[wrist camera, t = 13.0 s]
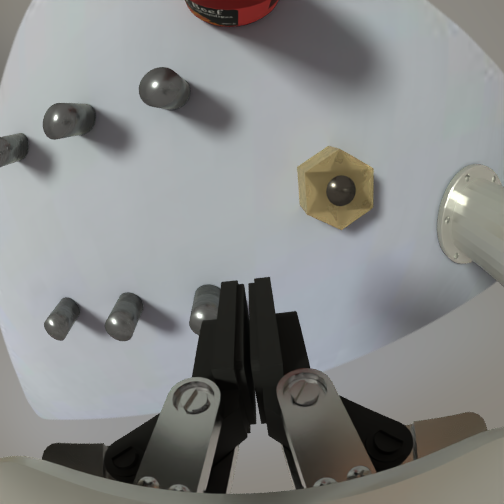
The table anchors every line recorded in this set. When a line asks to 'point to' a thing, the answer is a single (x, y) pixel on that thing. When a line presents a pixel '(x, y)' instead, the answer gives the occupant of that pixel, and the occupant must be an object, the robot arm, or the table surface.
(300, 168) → the brass nut
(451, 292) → the table surface
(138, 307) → the posts
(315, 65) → the table surface
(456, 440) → the robot arm
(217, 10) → the canned food
